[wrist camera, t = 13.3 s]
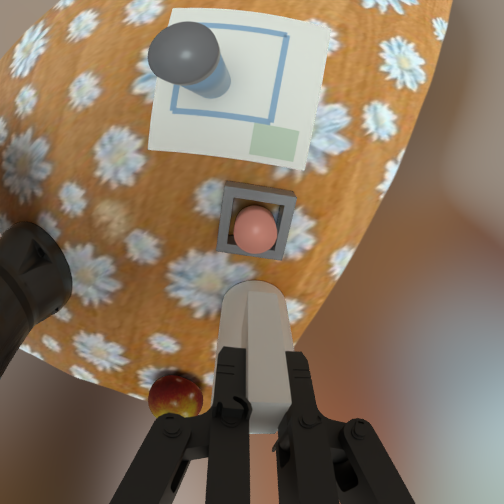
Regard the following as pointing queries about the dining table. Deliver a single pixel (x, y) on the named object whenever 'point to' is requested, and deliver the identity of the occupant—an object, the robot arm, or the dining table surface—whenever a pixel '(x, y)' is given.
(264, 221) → the button
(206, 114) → the board
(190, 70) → the marker
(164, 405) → the fruit
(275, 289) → the cup
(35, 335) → the dining table surface
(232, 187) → the button housing
